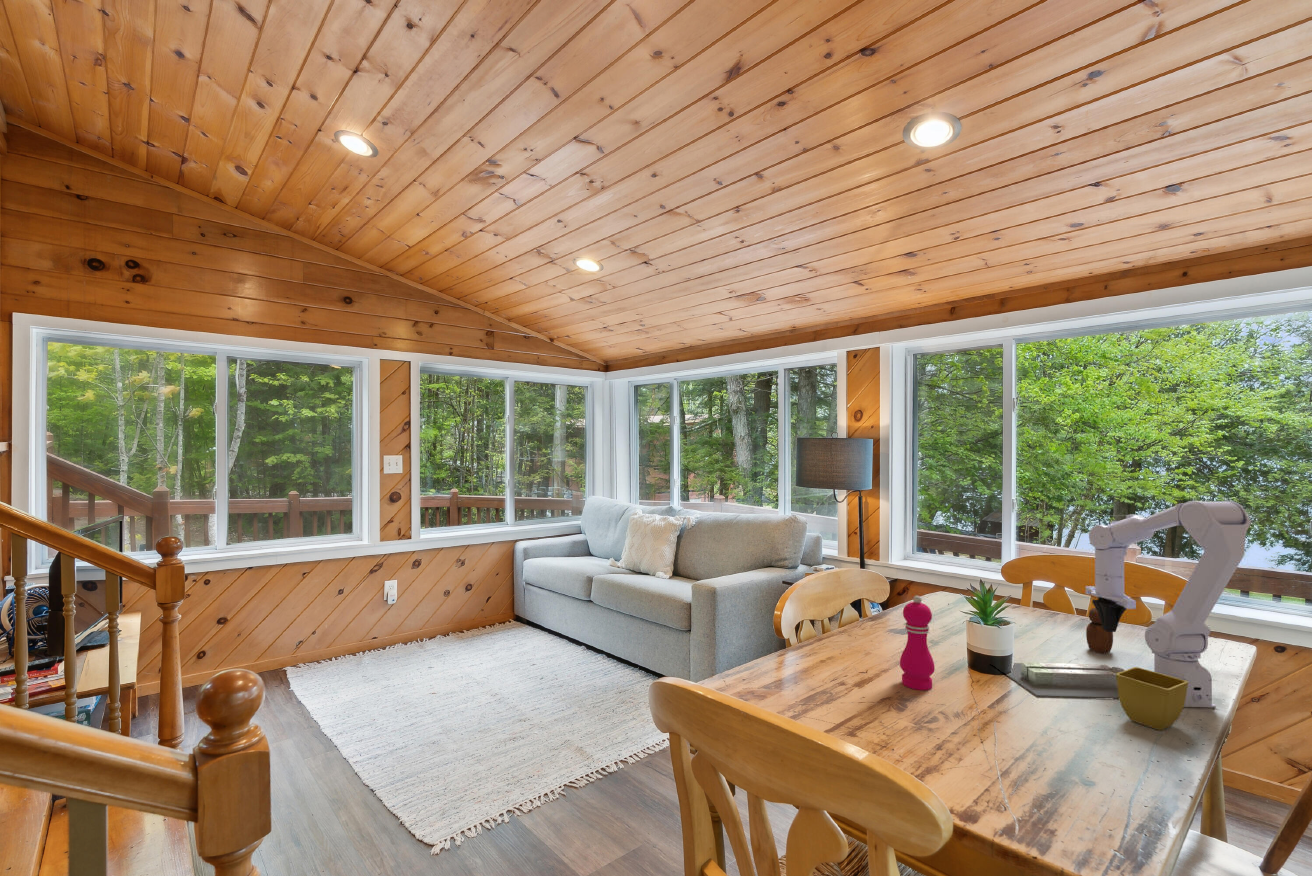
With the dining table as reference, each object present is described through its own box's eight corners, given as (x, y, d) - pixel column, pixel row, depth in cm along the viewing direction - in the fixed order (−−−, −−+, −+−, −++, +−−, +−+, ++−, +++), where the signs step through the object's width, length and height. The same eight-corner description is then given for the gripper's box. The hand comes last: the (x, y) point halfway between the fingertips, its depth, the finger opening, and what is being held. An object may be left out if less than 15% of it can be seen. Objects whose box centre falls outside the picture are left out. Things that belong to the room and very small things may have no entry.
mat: (1166, 700, 130) (1166, 698, 130) (1036, 696, 131) (1036, 695, 131) (1101, 666, 150) (1101, 665, 150) (989, 663, 151) (989, 662, 151)
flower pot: (1189, 727, 117) (1189, 680, 117) (1169, 738, 113) (1169, 689, 113) (1135, 710, 125) (1135, 666, 125) (1114, 719, 120) (1114, 673, 121)
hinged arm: (1114, 678, 141) (1114, 664, 141) (1127, 684, 137) (1127, 670, 137) (1021, 675, 141) (1021, 662, 142) (1030, 682, 138) (1030, 668, 138)
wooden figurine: (1113, 657, 157) (1113, 598, 157) (1085, 652, 160) (1085, 595, 161) (1113, 650, 162) (1113, 594, 163) (1086, 646, 166) (1086, 590, 166)
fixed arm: (1109, 683, 138) (1109, 670, 138) (1117, 688, 135) (1117, 674, 135) (1028, 681, 139) (1028, 668, 139) (1034, 686, 136) (1034, 672, 136)
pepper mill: (938, 692, 133) (938, 600, 133) (903, 689, 134) (903, 598, 134) (930, 680, 140) (930, 592, 140) (896, 677, 141) (897, 591, 141)
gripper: (1073, 568, 156) (1073, 622, 155) (1113, 581, 141) (1113, 639, 141) (1101, 569, 155) (1101, 622, 155) (1145, 581, 141) (1145, 640, 141)
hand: (1109, 631), depth 148 cm, fingers closed
